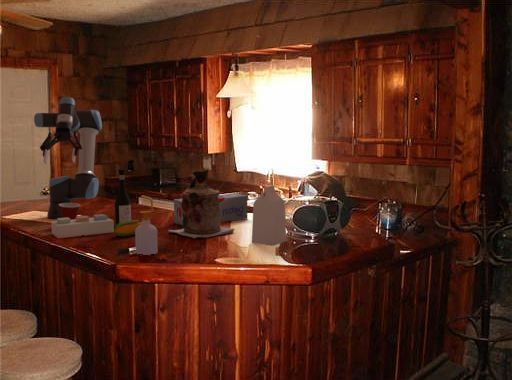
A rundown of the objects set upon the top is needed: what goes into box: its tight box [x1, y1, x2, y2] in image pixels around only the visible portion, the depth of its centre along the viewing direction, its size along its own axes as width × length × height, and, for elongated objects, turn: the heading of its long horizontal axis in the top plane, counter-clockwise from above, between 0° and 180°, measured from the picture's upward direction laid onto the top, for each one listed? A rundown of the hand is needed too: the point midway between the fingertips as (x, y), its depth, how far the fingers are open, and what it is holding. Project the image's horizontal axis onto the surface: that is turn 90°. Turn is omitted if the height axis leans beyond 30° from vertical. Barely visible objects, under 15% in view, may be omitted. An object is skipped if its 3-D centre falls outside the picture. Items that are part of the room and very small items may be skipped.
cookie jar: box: [168, 168, 236, 239], centre depth 279 cm, size 25×25×32 cm
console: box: [50, 217, 115, 239], centre depth 280 cm, size 13×27×6 cm, turn 122°
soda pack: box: [173, 193, 248, 227], centre depth 313 cm, size 41×13×14 cm, turn 124°
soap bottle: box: [134, 194, 159, 256], centre depth 237 cm, size 9×9×25 cm
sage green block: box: [56, 217, 71, 224], centre depth 275 cm, size 5×5×5 cm
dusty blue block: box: [93, 213, 108, 221], centre depth 285 cm, size 5×5×5 cm
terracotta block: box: [76, 215, 90, 222], centre depth 280 cm, size 5×5×5 cm
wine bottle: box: [114, 168, 132, 226], centre depth 297 cm, size 8×8×30 cm
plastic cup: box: [59, 202, 81, 220], centre depth 296 cm, size 11×11×12 cm
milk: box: [251, 184, 287, 247], centre depth 259 cm, size 12×12×26 cm
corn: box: [113, 219, 142, 238], centre depth 276 cm, size 7×8×20 cm
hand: (59, 161), depth 274 cm, fingers open, 13 cm apart
